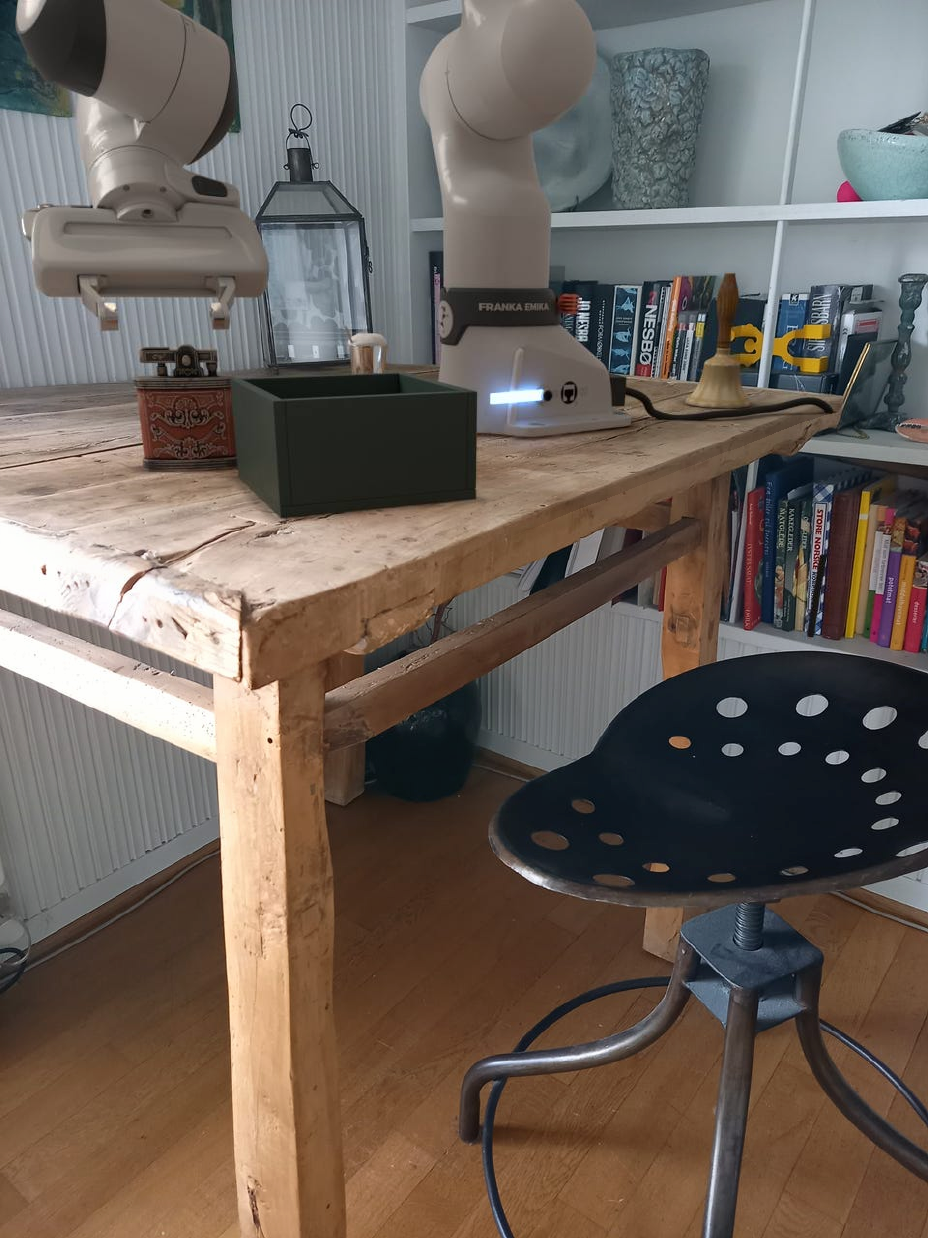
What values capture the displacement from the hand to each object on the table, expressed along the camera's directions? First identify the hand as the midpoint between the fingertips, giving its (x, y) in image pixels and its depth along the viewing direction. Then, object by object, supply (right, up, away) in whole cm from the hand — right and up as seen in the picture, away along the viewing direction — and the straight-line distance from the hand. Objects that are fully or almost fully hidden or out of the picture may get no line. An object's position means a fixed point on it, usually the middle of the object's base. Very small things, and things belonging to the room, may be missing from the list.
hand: (166, 325), depth 79 cm
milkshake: (+14, -1, +29) cm, 32 cm away
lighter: (+3, -13, -2) cm, 13 cm away
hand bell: (+59, +2, +39) cm, 71 cm away
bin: (+17, -15, -9) cm, 25 cm away
